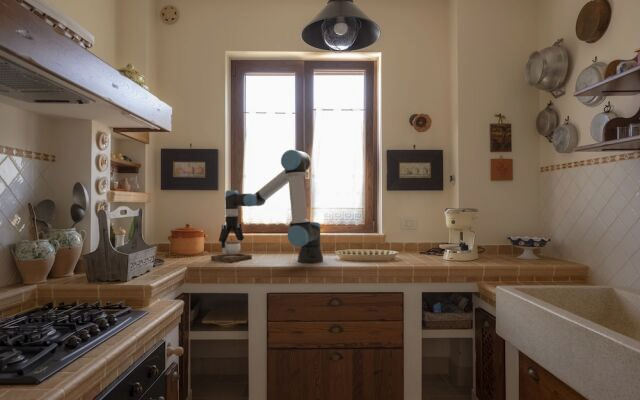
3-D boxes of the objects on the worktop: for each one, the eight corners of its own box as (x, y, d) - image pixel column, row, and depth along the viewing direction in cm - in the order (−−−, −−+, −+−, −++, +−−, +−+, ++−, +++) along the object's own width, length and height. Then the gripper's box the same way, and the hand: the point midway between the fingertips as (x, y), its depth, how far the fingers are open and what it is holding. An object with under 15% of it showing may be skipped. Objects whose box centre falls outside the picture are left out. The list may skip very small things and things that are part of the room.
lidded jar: (230, 255, 230) (230, 239, 230) (218, 254, 236) (218, 238, 236) (244, 253, 238) (244, 238, 238) (232, 251, 245) (232, 237, 245)
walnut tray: (251, 259, 240) (251, 254, 240) (230, 262, 226) (230, 258, 226) (232, 256, 249) (232, 252, 249) (211, 260, 235) (211, 256, 235)
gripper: (241, 214, 249) (241, 249, 249) (212, 216, 230) (212, 253, 230) (249, 215, 245) (249, 250, 245) (221, 216, 226) (221, 255, 226)
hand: (231, 252), depth 237 cm, fingers closed on lidded jar, 11 cm apart
